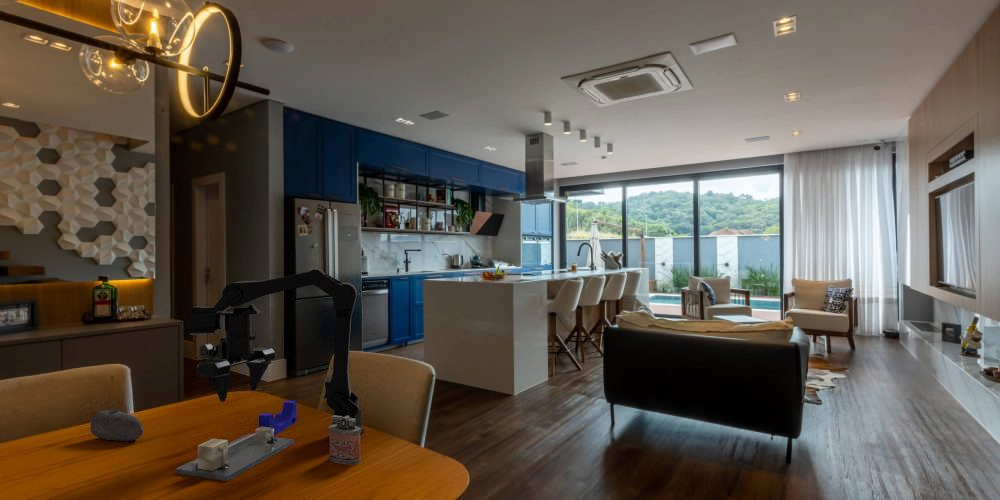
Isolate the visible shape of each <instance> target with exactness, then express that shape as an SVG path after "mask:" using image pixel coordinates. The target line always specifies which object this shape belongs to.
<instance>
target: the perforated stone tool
mask: <svg viewBox="0 0 1000 500" xmlns="http://www.w3.org/2000/svg"><path fill="white" fill-rule="evenodd" d="M89 425H90V426H89V430H90V433H91V434H92V435H93V436H94V437H96V438H99V439H102V440H105V441H109V440H110V441H120V442H121V441H122V442H130V441H136V440H139V439H140V438H141V437H142V436H143V434H144V431H145V429H144V425H143V423H142V422H141V421H140V419H139V418H137V417H136V416H135V415H131V414H129V413H126V412H124V411H119V410H112V409H111V410H109V409H104V410H103V409H102V410H100V411H96V413H94V414H93V415H92V417H91V420H90V424H89Z"/></svg>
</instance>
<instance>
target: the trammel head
mask: <svg viewBox="0 0 1000 500" xmlns="http://www.w3.org/2000/svg"><path fill="white" fill-rule="evenodd" d="M228 444H229V440H228V439H221V438H211V439H209V440H207V441H205V442H203V443H201V444H198V445H197V458H198V469H203V470H210V471H213V470H215V469H217V468H219V467H224V466H225V464H227V463H228Z"/></svg>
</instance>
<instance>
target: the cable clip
mask: <svg viewBox="0 0 1000 500" xmlns="http://www.w3.org/2000/svg"><path fill="white" fill-rule="evenodd" d="M282 405H283V406H282V411H280V412H278V413H276V414H275V416H274V413H265V412H264V413H260V414H259V415H258V428H259V427H270V428H273V429H274V436H275V435H277V434H280V433H281V432H283V431H284V430H286V429H288V428H289V427H290V426H293V424H295V423H297V419H298V418H297V410H298V409H297V400H286V401H283V403H282Z"/></svg>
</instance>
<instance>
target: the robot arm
mask: <svg viewBox="0 0 1000 500" xmlns="http://www.w3.org/2000/svg"><path fill="white" fill-rule="evenodd" d="M309 286H315V287H316V288H318V289H320V290H321V291H322V292H324V293H325V294H327V295H329V296H330V297H332V303H333V309H334V314H335V332H334V333H335V334H334V347H333V363H332V364H333V366H332V367H333V368H332V375H331V376H326V379H325V381H324V389H325V392H324V395H323V399H325V401H326V405H327V406H328V407H329V408H330V409H332V410H333V416H334V415H336V416H342V417H345V416H350V418H354V419H356V423H355V426H357V427H360V428H361V432H360V435H362V434H363V433H365V432H366V431H365V429H364V428H363V429H362V410H361V409H359V403H360V397H359V396H358V395H356V394H355V393H354V392H353V391H352V384H351V378H350V374H349V373H350V371H349V359H350V341H351V340H350V339H351V326H352V317H353V316H352V315H353V312H354V308H355V305H356V304H355V303H356V300H357V295H358V292H357V291H358V290H357V288H356V287H355V286H354V284H352V283H351V282H343V281H340V280H338V279H336V278H335V277H333V276H332V275H331V276H330V275H329V274H328V273H326V272H325V271H323V270H322V269H320V268H314V269H311V270H309V271H305V272H301V273H296V274H290V275H286V276H281V277H276V278H273V279H268V280H248V281H247V280H244V281H236V282H231V283H229V284H227V285H225V286H224V288H223V290H222V293H221V295H222V296H221V298H219V300H218V302H217V303H216V304H215V305H214V306H201V305H200V306H199V305H198V306H192V307H191V308H190V313H189V316H188V321H187V322H186V328H187V333H188V334H189V335H190V336H194V335H195V336H196V335H214V334H215V335H217V334H219V332H220V330H223V329H224V336H223V337H220V338H219V344H217V345H212V344H211V343H208V344H203V345H200V348H199V356H200V358H201V359H202V360H205V359H206V360H205V361H201V362H199V363H198V364H197V366H196V376H201V377H202V378H203V379H204V378H205V379H207V380H209V381H210V382H211V384H212V385H213V387H214V389H215V392H216V394H217V397H218V399H219V401H220V402H221V403H224V402H226V401H227V397H228V392H229V386H230V381H231V376H232V373H229V372H230V371H231V368H232V367H236V366H239V365H243V364H245V365H246V367H247V368H248V370H249V387H250V391H251V392H255V391H256V390H257V388H258V386H259V384H260V382H261V379H262V378H263V376H264V374H265V372H266V370H267V368H268V367H269V365H271V364H272V361H273V360H275V359H276V352H275V350H274V349H273V348H271V347H269V348H268V347H256V348H253V349H252V341H254V340H256V335H252V315H257V314H260V313H261V309H259V308H258V307H257V306H255V304H254V303H251V304H249V306H248V307H247V306H245V307H239V306H242V305H245V304H247V303H250V302H252V301H255V300H257V299H260V298H263V297H265V296H267V295H273V294H277V293H281V292H285V291H290V290H295V289H299V288H303V287H309ZM233 307H235V308H234V309H233V311H227V310H228V309H231V308H233ZM334 424H337V423H336V422H332V421H331V425H334Z"/></svg>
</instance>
